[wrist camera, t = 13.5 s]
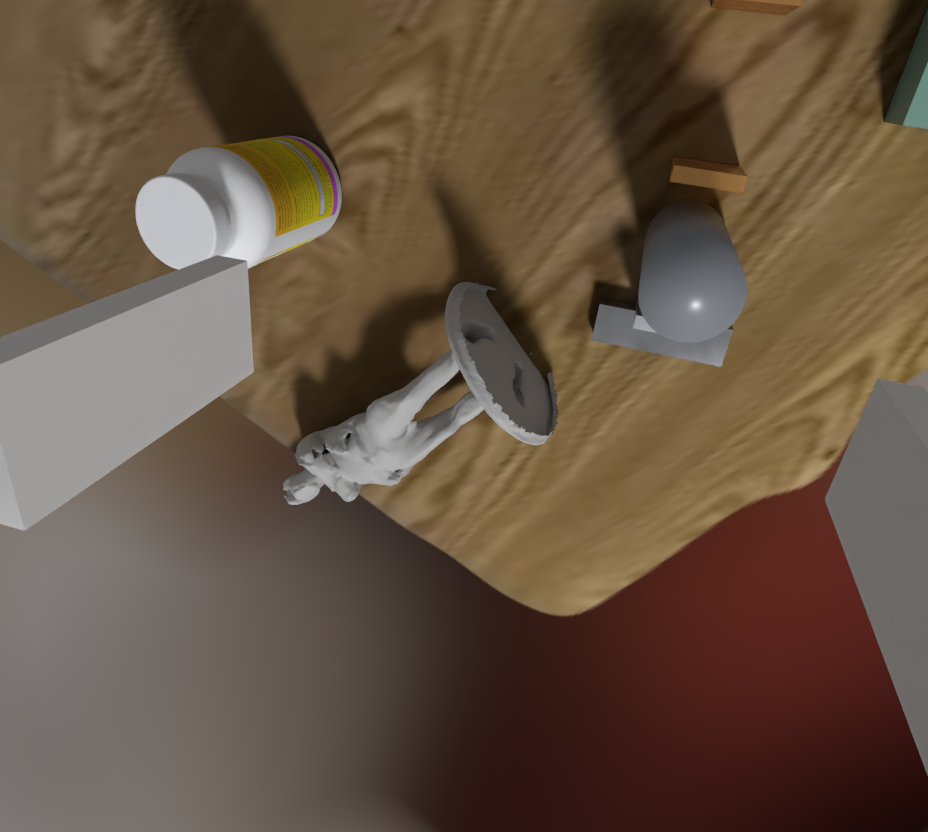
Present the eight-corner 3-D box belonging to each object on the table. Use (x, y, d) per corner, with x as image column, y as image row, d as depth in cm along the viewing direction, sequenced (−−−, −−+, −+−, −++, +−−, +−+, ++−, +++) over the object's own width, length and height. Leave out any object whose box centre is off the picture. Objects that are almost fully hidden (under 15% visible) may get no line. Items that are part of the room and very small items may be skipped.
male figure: (557, 465, 37) (283, 587, 50) (585, 390, 45) (343, 511, 58) (443, 302, 34) (185, 475, 47) (494, 254, 42) (262, 412, 55)
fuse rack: (734, -299, 29) (744, -358, 25) (934, -294, 27) (978, -357, 23) (593, 333, 43) (585, 358, 39) (719, 359, 41) (725, 388, 37)
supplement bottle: (287, 111, 42) (150, 121, 31) (364, 186, 43) (257, 222, 32) (238, 190, 45) (98, 225, 34) (310, 259, 46) (196, 314, 35)
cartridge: (652, 195, 38) (649, 236, 29) (735, 204, 37) (760, 249, 28) (637, 273, 40) (629, 334, 31) (715, 283, 39) (732, 349, 30)
